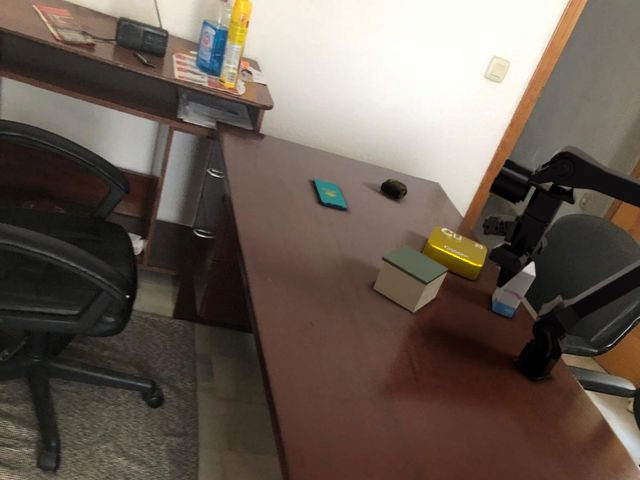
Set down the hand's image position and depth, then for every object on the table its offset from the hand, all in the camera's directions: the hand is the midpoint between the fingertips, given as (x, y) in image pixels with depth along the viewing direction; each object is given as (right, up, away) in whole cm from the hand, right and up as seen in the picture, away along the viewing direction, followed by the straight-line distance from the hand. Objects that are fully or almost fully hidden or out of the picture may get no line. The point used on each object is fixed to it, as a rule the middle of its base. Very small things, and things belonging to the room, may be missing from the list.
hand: (498, 286), depth 133 cm
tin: (-17, +2, +14) cm, 22 cm away
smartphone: (-34, +33, +43) cm, 64 cm away
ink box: (+7, 0, +25) cm, 26 cm away
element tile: (-2, +15, +37) cm, 40 cm away
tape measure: (-15, +38, +58) cm, 71 cm away
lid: (-15, +7, +10) cm, 20 cm away
